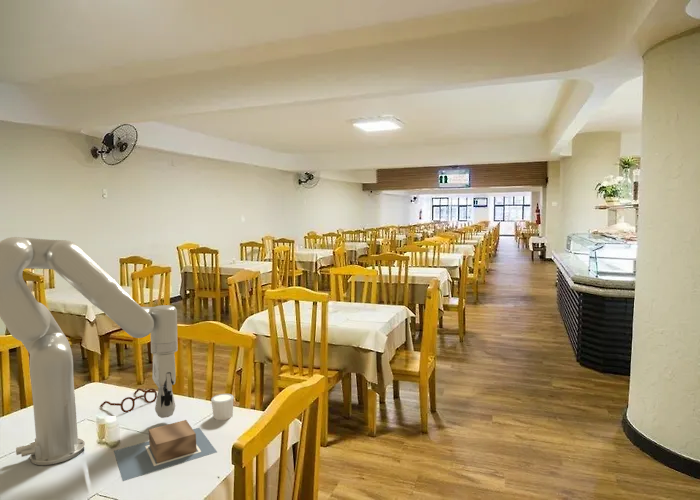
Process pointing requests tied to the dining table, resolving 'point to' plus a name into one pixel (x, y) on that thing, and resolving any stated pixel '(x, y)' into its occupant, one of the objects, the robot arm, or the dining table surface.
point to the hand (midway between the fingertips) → (165, 404)
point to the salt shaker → (165, 410)
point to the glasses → (134, 399)
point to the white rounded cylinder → (222, 406)
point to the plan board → (144, 462)
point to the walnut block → (172, 441)
